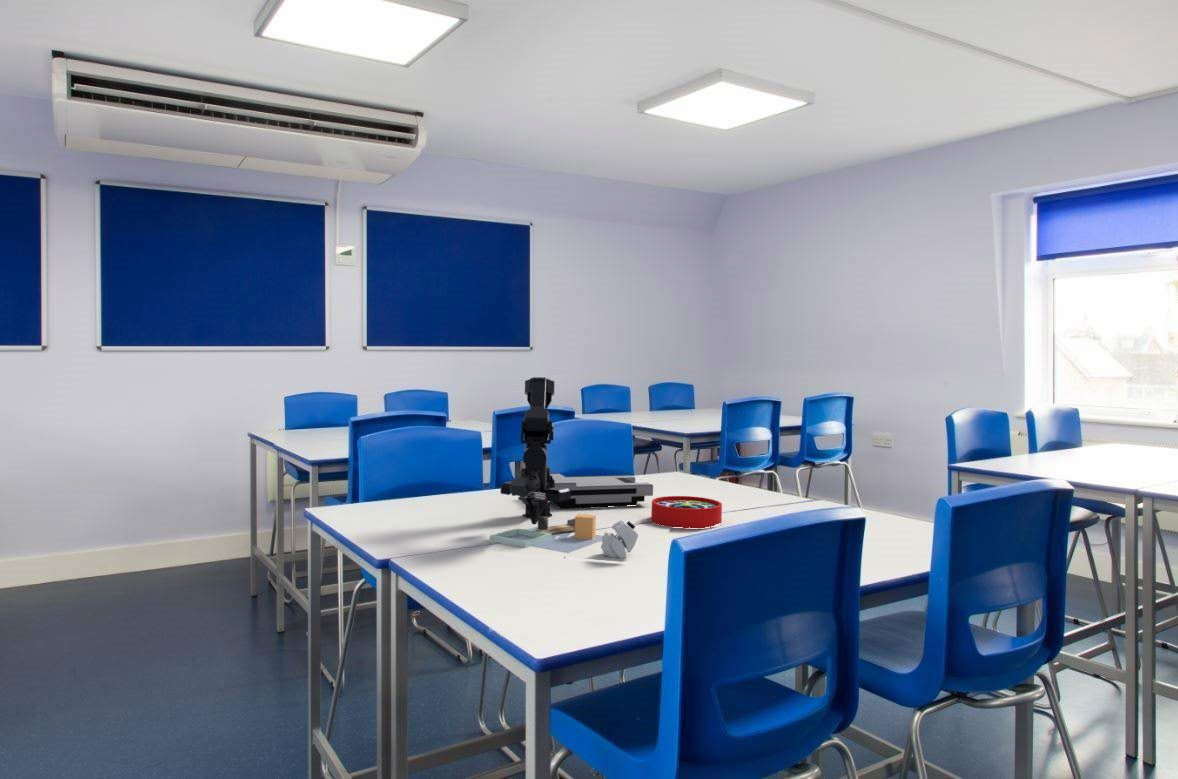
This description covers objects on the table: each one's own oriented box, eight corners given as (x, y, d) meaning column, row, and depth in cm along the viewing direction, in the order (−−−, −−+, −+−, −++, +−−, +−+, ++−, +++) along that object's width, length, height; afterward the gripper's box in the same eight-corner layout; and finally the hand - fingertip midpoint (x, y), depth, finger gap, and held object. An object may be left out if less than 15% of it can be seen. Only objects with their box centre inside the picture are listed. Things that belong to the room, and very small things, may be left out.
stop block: (577, 535, 208) (578, 514, 207) (595, 536, 207) (595, 515, 206) (574, 538, 204) (575, 516, 204) (592, 539, 203) (592, 517, 203)
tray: (489, 543, 199) (489, 535, 199) (516, 535, 208) (516, 527, 208) (525, 549, 193) (525, 542, 193) (551, 541, 203) (551, 533, 203)
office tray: (652, 507, 252) (653, 481, 252) (554, 511, 243) (554, 484, 242) (629, 495, 272) (629, 471, 272) (537, 498, 262) (538, 473, 262)
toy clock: (691, 493, 244) (736, 505, 227) (690, 513, 244) (736, 525, 228) (637, 499, 233) (681, 511, 216) (637, 519, 234) (681, 533, 217)
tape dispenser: (618, 568, 185) (646, 535, 186) (597, 550, 184) (625, 517, 185) (613, 562, 191) (640, 530, 192) (592, 544, 190) (620, 512, 191)
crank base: (494, 541, 201) (494, 539, 201) (541, 527, 218) (541, 525, 218) (568, 555, 189) (568, 552, 189) (611, 539, 206) (611, 536, 206)
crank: (578, 525, 217) (578, 510, 217) (589, 529, 213) (590, 513, 213) (533, 532, 208) (533, 516, 208) (544, 535, 204) (544, 519, 204)
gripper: (487, 464, 205) (486, 524, 206) (547, 471, 195) (545, 534, 196) (514, 459, 215) (512, 517, 216) (572, 466, 205) (571, 527, 206)
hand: (534, 524), depth 208 cm, fingers closed
